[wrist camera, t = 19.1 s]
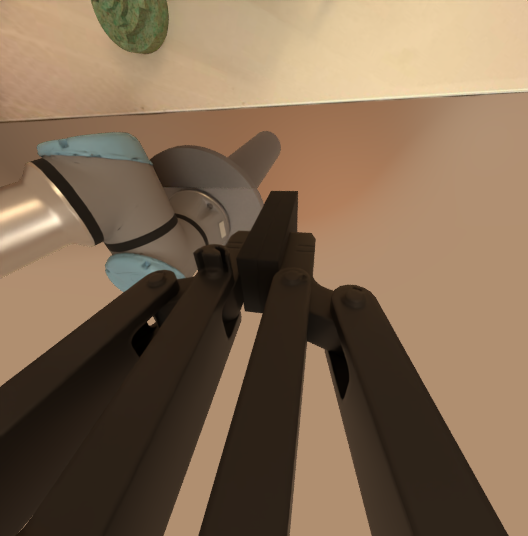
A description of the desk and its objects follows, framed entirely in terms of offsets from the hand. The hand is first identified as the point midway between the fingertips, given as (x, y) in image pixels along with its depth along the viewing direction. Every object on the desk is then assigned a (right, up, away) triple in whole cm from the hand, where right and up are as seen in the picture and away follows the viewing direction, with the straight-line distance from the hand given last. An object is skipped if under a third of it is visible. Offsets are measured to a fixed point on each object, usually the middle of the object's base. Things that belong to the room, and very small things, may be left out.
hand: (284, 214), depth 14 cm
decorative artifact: (-20, +34, +21) cm, 45 cm away
